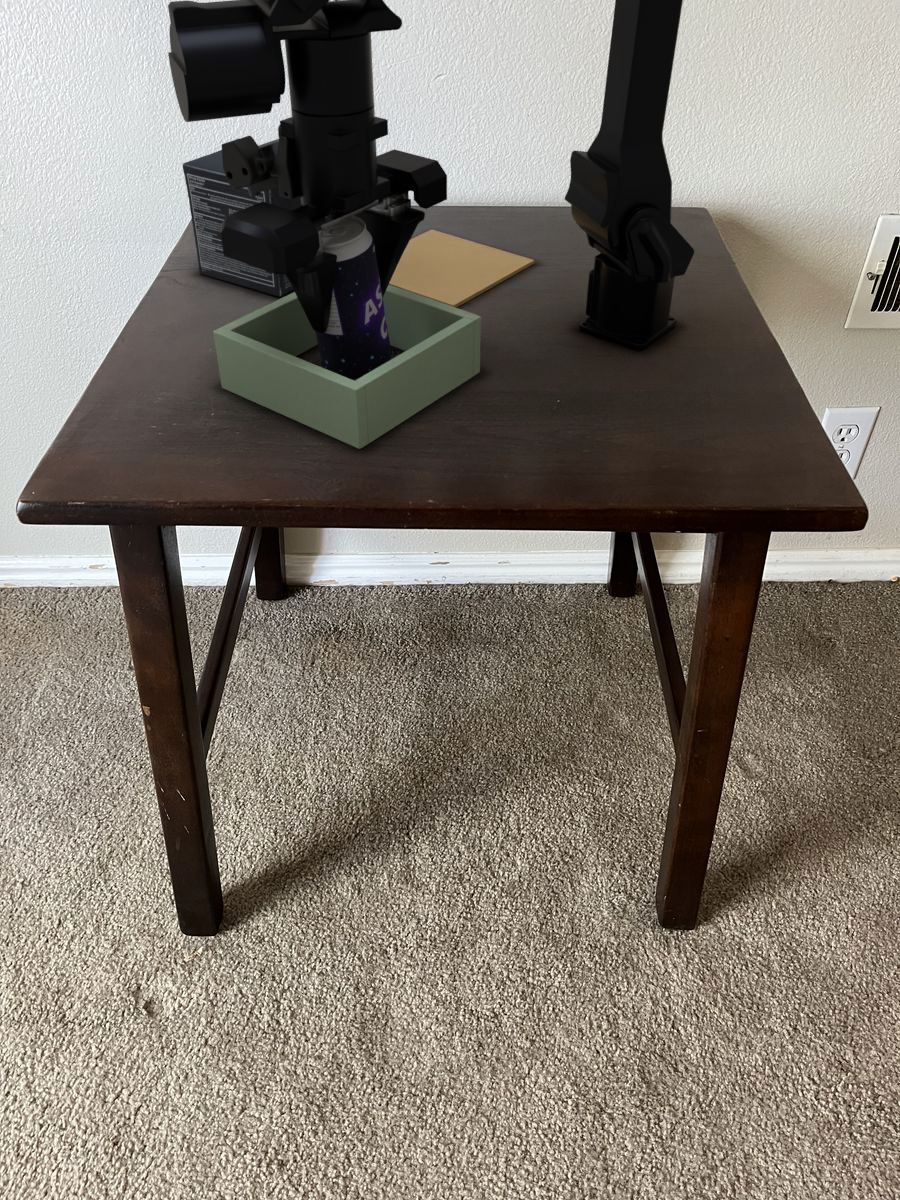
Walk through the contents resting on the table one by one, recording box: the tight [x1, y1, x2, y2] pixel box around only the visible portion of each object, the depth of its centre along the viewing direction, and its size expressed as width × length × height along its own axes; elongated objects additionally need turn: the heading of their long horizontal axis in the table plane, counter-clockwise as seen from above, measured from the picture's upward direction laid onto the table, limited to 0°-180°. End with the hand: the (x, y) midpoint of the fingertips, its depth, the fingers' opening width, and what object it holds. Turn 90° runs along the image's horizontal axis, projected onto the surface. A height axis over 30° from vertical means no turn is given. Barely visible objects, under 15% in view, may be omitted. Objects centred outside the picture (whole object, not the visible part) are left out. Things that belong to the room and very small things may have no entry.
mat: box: [389, 229, 535, 308], centre depth 102 cm, size 13×13×1 cm
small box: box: [182, 149, 303, 298], centre depth 98 cm, size 11×6×10 cm, turn 58°
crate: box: [212, 285, 482, 450], centre depth 84 cm, size 15×15×5 cm
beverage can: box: [315, 216, 393, 381], centre depth 81 cm, size 6×6×12 cm
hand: (347, 316), depth 82 cm, fingers closed on beverage can, 6 cm apart
